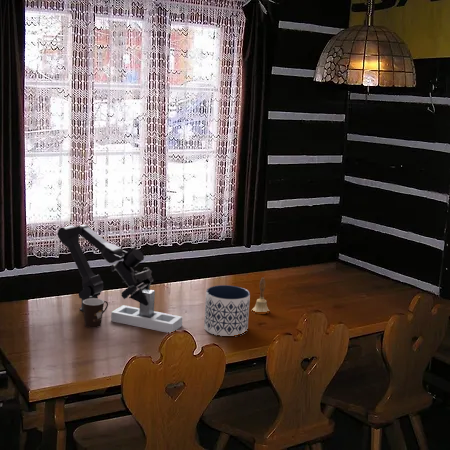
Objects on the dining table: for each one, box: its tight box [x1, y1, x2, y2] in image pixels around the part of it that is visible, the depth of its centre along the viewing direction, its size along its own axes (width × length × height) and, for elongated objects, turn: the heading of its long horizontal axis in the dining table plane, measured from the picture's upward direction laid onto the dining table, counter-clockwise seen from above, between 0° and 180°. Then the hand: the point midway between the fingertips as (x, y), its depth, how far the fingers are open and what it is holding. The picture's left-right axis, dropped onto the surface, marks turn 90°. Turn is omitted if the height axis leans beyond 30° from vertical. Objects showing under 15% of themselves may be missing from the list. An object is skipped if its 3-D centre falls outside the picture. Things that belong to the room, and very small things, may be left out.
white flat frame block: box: [110, 304, 183, 334], centre depth 289 cm, size 28×10×4 cm, turn 69°
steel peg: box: [139, 289, 156, 318], centre depth 288 cm, size 4×4×12 cm
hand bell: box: [251, 277, 270, 312], centre depth 311 cm, size 8×8×16 cm
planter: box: [203, 284, 251, 337], centre depth 287 cm, size 18×18×16 cm
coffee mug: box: [83, 298, 109, 329], centre depth 284 cm, size 12×9×10 cm
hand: (149, 303), depth 287 cm, fingers closed on steel peg, 4 cm apart
